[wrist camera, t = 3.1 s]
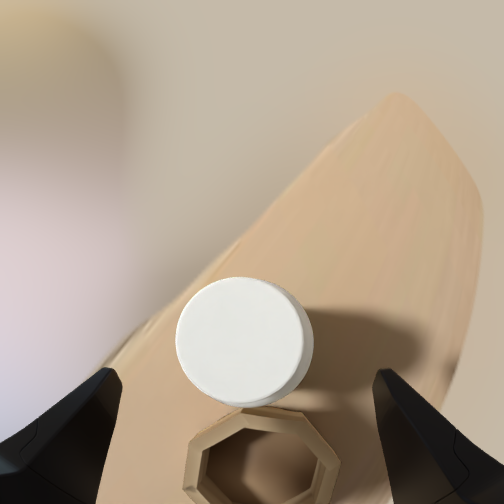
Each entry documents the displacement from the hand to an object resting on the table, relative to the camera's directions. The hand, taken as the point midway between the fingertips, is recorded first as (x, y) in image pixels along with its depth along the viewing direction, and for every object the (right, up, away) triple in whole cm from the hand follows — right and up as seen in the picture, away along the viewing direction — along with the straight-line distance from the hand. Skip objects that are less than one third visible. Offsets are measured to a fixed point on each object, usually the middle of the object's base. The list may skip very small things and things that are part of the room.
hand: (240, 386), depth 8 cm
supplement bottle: (+1, -2, +9) cm, 9 cm away
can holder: (+1, -9, +6) cm, 11 cm away
